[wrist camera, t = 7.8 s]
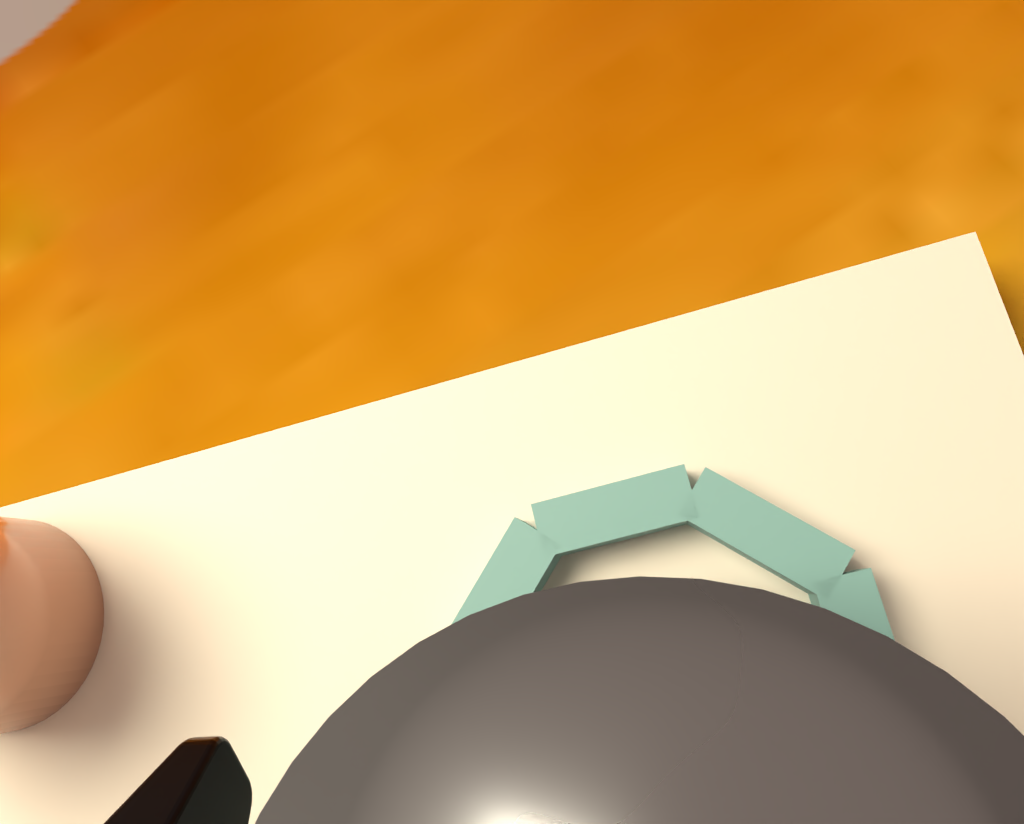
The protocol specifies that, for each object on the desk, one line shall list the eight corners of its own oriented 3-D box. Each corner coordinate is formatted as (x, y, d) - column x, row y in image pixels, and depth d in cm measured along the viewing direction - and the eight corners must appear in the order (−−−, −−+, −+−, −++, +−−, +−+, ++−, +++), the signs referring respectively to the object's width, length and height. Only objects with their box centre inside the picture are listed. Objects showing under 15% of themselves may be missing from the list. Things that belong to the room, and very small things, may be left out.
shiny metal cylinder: (784, 852, 16) (1260, 1931, 3) (536, 812, 16) (115, 1543, 4) (797, 596, 16) (1223, 635, 4) (559, 571, 17) (269, 533, 5)
